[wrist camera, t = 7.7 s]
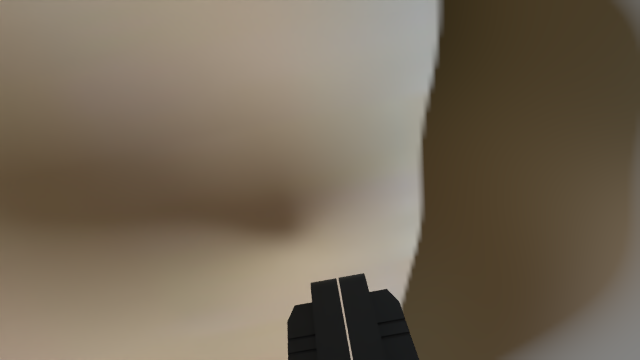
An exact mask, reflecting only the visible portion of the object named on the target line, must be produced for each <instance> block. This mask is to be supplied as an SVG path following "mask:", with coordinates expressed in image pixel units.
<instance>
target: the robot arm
mask: <svg viewBox="0 0 640 360" xmlns="http://www.w3.org/2000/svg"><path fill="white" fill-rule="evenodd" d="M339 283H340V289H341V295H342V300H343V306H344V311H345V317H346V323H347V328H348V334H349V340H350V345H351V351H352V356H353V360H419V358H418V355H417V352H416V350H415V347H414V344H413V341H412V338H411V335H410V332H409V329H408V326H407V323H406V321H405V317H404V314H403V311H402V309H401V306H400V303H399V301H398V300H397V299H396V298H395V297H394V296H393V295H392V294H391V293H390V292H389V291H388V290H387V289H384V290H379V291H373V292H369V290H368V286H367V282H366V278H365V275H364V273H363V274H357V275H352V276H346V277H340V278H339ZM311 294H312V303H306V304H301V305H295V306H294V308H293V311H292V313H291V315H290V317H289V319H288V322H287V324H288V360H351V358H350V353H349V347H348V341H347V335H346V330H345V324H344V318H343V313H342V307H341V302H340V296H339V291H338V285H337V280H336V278H335V279H330V280H324V281H319V282H313V283H311Z"/></svg>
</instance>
